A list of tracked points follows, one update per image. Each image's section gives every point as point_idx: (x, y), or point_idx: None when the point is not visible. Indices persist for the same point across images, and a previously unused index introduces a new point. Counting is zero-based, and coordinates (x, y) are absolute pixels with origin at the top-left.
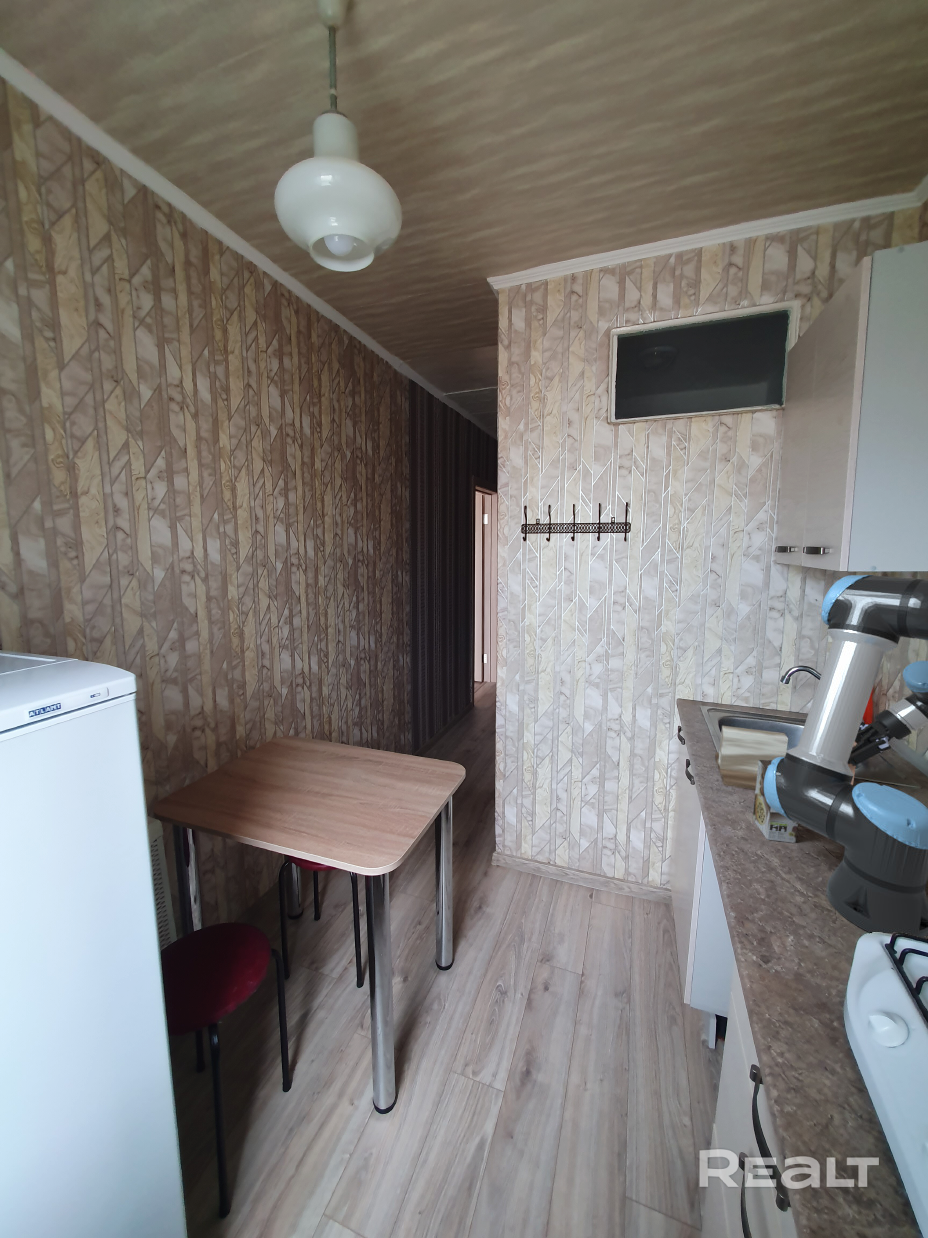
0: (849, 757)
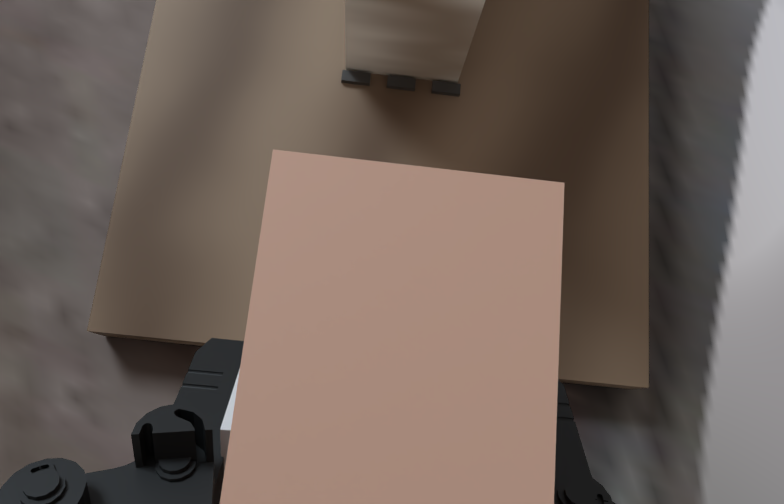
0: (17, 499)
